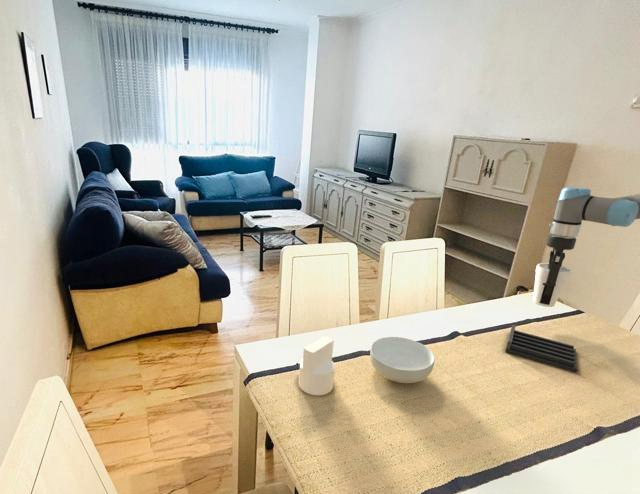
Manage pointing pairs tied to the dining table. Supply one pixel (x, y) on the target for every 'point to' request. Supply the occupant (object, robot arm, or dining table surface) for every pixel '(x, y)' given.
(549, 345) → the drying rack
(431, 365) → the cereal bowl
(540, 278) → the foam cup
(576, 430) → the dining table surface
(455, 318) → the dining table surface
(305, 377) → the base with upright slab
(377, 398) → the dining table surface
